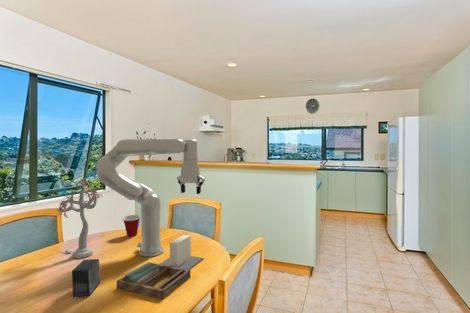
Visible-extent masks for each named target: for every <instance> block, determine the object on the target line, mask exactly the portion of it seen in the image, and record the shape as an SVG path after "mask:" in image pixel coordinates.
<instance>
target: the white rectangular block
mask: <svg viewBox="0 0 470 313" xmlns="http://www.w3.org/2000/svg"><path fill="white" fill-rule="evenodd" d="M191 242H192V241H191V235H189V234H188V235H187V234H183V235H181V236H179V237H177V238H175V239H174V240H172V241H170V242H169V258H170V266H174V267H178V266H180V265H181V264H183V263H184V262H185V261H187V260H188V259H190V258H191V256H192V253H191V252H192V251H191V249H192V246H191V245H192V243H191Z"/></svg>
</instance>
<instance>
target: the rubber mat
mask: <svg viewBox="0 0 470 313" xmlns="http://www.w3.org/2000/svg"><path fill="white" fill-rule="evenodd" d="M203 260H204V257H202V256H196V255H195V256H194V255H191V258H190V259H188V260H187V261H185V262H184V263H183V264H181V265H180V266H178V267H176V268H181V269H187V270H190V271H191V269H193V268H194V267H195V266H197V265H198V264H199V263H200V262H202V261H203ZM158 264H159V265H165V266H170V257H168V258H167V259H165V260H163V261H161V262H160V263H158ZM170 267H174V266H170Z"/></svg>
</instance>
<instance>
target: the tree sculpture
mask: <svg viewBox="0 0 470 313" xmlns="http://www.w3.org/2000/svg"><path fill="white" fill-rule="evenodd" d="M85 179H86V177H84V178H82V179H81V180H79V181H78V182H77V183H76V186H75V187H76V189H78V186H79V184H80V186H81V189H80V191H79V197H78V198H79V199H78V200H74V195H77V194H76V193H72V194H69V195H66V196H64V197H63V199H64V198H65V199H66V200H62V201H61V202H60V203H59V207H58V210H57V211H58V213H59V215H60V216H62V215H63V216H64V218H70V217H69V216H68V215H67V212H69V211H74V212H77V213H79V216H80V219H81V223H82V229H81V230H80V231H81V232H80V234H79V237H78V247H77V248H76V249H75V250H74V251H72V250H69V249H66V250H64V251H65V252H66V253H67V254H70V252H71V253H72V258H74V257H75V258H74V259H83V258H82V257H85V258H88V257H90V255H91V256H92V255H93V252H94V251H93V250H94V249H93V248H91V247H89V246H88V234H89V224H88V221H87V219H86V217H85V209H87V210H92V209H94V208H95V207H96V205H97V201H98V200H99V199H100V197H101V198H103V195H101V194H100V193H98V191H97V190H96V189H97V187H94V188H93V189H92V188H91V186H90V185H88V184H87V181H86V180H85ZM88 179H89V180H90V178H88V177H87V180H88ZM86 187H87V188H86ZM90 191H91V193H90ZM84 196H87V198H88V200H84ZM68 205H69V206H68ZM74 205H79V208H77V207H75V206H74ZM67 206H68V207H67ZM65 252H64V253H65ZM87 256H88V257H87Z"/></svg>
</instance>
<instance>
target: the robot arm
mask: <svg viewBox="0 0 470 313" xmlns="http://www.w3.org/2000/svg"><path fill="white" fill-rule="evenodd" d="M181 153H183V155H182V156H183V158H182V159H181V162H182V165H181V169H180V175H179V176H177V177H176V180H177V183H178V184H179V186H180V193H181V194H184V193H186V185H185V184H195V185H196V187H195V188H196V194H197V195H199V194H201V193H202V186H203V185H204V184H205V181H206V178H205V177H203V176H202V175H201V171H200V166H199V164H198V141H197V139H180V138H167V139H166V138H163V139H161V138H160V139H156V138H135V139H134V138H133V139H131V138H130V139H125V138H124V139H119V141H117V143H116V144H115V146H114V147H112V149H111V150H109V151H108V152H107V153H106V154H105V155H103V156H101V157H100V158H99V159H98V161H97V164H96V174H97V177H98V179H99V180H100V182H101V183H102V184H103V185H104V186H106V187H108V188H110V189H111V190H112V191H114V192H116V193H117V194H119V195H121V196H123V197H124V198H125V199H127V200H129V201H135V202H137V203H138V204H140V211H141V212H140V214H141V215H140V219H141V222H140V223H141V242H138V243H137V244H136V248H140V249H139V250H138V254H139V256H141V257H146V258H147V257H155V256H160V255H161V254H163V253H164V251H165V249H164V247H162V246H161V244H162V242H161V236H162V235H161V199H160V197H159V194H158V193H157V192H156V191H154V190H153V189H151V188H149V187H147V186H146V185H145V184H143V183H141V182H139V181H137V180H133V179H132V180H131V179H130V178H127V177H126V176H125V175H123V174H121V173H119V172H118V171H117V168H118V166H120V165H121V164H122V163H123V162H124V161H125V160H126V159H127V158H128V157H129V156H131V157H134V156H136V157H137V156H155V155H168V154H170V155H171V154H181Z"/></svg>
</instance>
